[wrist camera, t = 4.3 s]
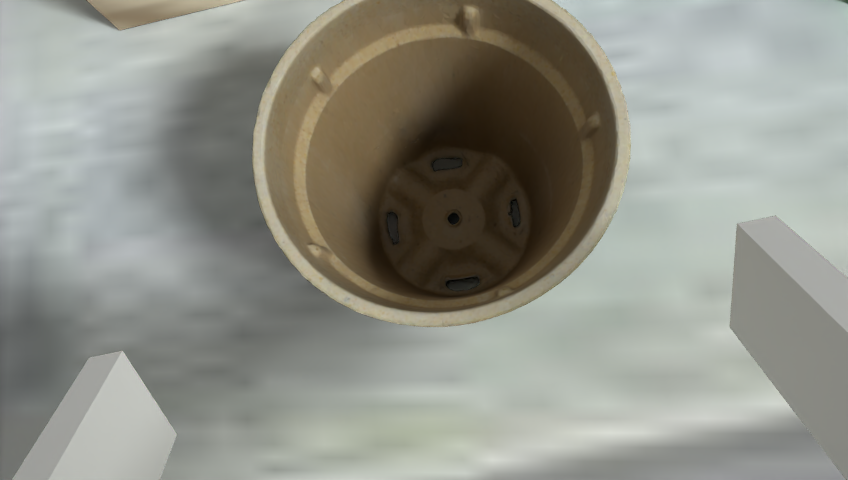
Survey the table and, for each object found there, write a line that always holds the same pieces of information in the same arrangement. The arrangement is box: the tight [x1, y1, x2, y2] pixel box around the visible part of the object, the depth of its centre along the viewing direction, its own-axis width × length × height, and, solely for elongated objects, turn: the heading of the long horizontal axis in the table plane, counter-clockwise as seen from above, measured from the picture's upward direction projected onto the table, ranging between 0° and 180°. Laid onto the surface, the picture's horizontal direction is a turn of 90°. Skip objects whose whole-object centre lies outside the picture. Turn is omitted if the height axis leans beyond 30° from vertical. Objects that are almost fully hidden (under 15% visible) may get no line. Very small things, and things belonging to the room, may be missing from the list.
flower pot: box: [252, 0, 631, 327], centre depth 19 cm, size 9×9×9 cm
